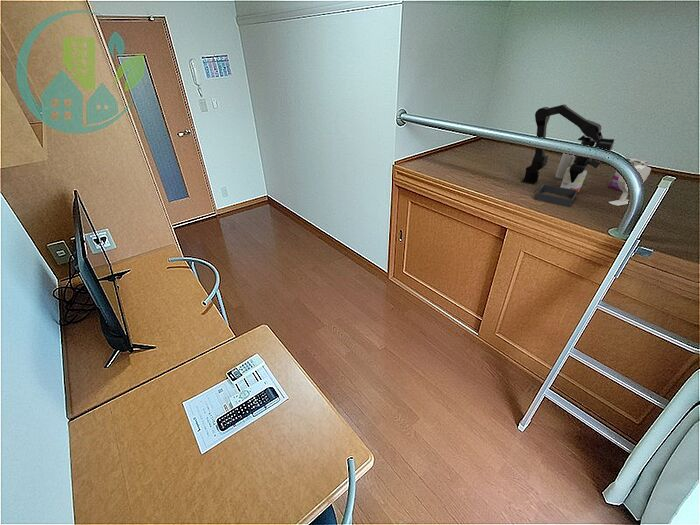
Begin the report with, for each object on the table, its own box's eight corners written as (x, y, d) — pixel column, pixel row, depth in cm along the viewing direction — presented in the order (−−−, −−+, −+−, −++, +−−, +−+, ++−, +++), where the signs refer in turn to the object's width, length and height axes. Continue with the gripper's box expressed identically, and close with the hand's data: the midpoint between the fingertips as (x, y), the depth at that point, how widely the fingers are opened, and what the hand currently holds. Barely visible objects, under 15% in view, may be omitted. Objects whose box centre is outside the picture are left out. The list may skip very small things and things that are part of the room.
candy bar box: (635, 192, 172) (650, 161, 163) (628, 193, 171) (644, 162, 161) (614, 185, 181) (628, 156, 172) (608, 187, 179) (621, 157, 170)
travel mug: (554, 176, 195) (566, 141, 184) (566, 177, 193) (579, 143, 182) (553, 179, 191) (565, 144, 180) (566, 180, 188) (579, 145, 177)
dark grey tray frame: (534, 199, 166) (536, 192, 164) (541, 190, 176) (544, 184, 174) (569, 206, 157) (572, 200, 155) (575, 196, 168) (577, 190, 166)
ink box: (579, 192, 173) (588, 170, 167) (574, 193, 171) (583, 172, 165) (564, 187, 180) (572, 166, 173) (559, 188, 178) (566, 167, 171)
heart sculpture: (626, 198, 166) (644, 163, 156) (636, 201, 162) (655, 166, 152) (605, 202, 161) (621, 166, 151) (615, 206, 157) (632, 169, 147)
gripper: (601, 157, 153) (588, 188, 162) (606, 149, 165) (593, 178, 174) (575, 153, 159) (563, 183, 168) (581, 145, 171) (570, 174, 180)
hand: (573, 180), depth 172 cm, fingers open, 9 cm apart
